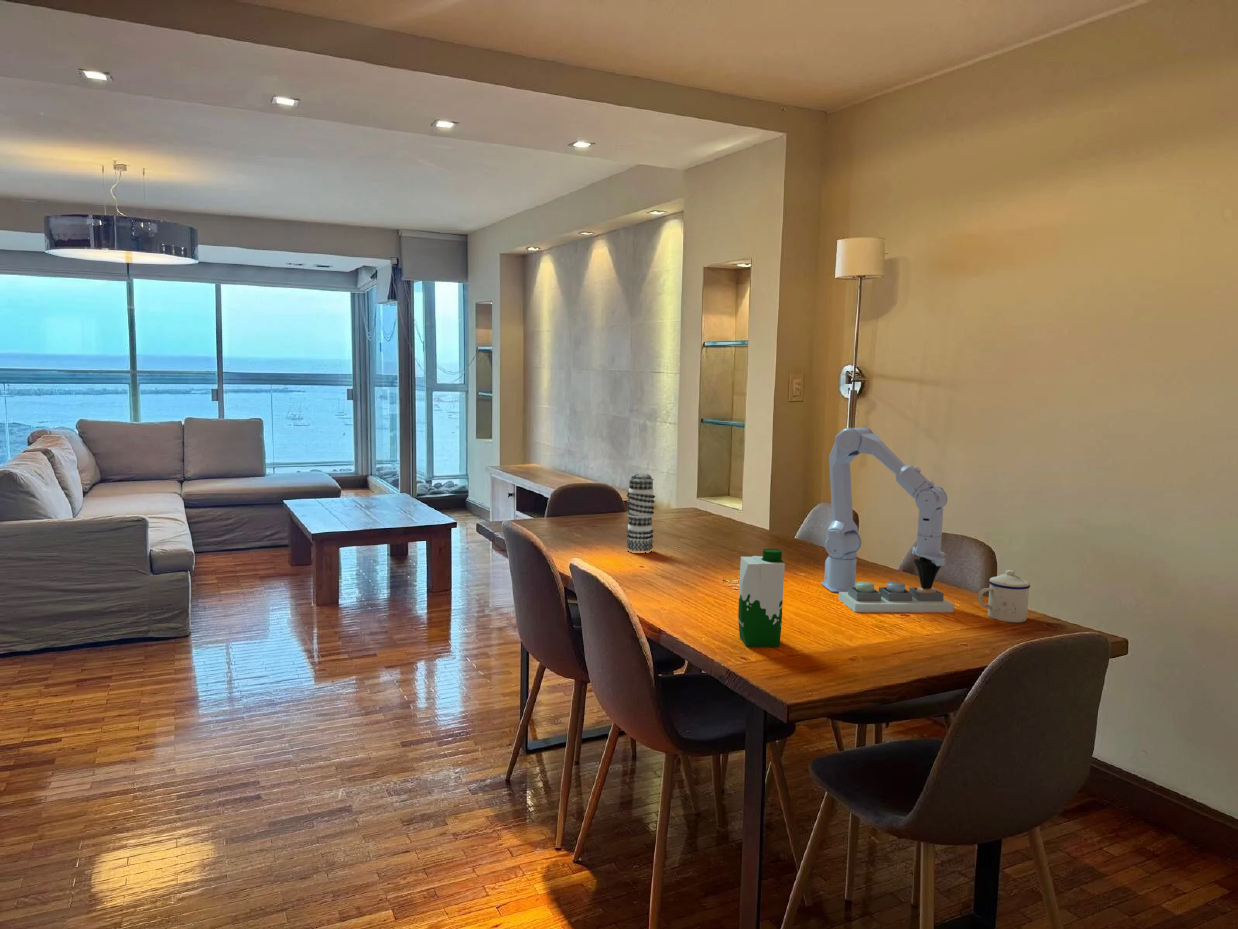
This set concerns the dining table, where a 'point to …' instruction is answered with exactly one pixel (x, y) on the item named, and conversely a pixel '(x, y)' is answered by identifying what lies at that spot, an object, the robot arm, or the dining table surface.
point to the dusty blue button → (895, 587)
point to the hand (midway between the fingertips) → (926, 588)
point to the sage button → (864, 587)
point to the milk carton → (761, 599)
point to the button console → (895, 601)
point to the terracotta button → (926, 590)
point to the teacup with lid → (1007, 597)
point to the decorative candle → (640, 512)
